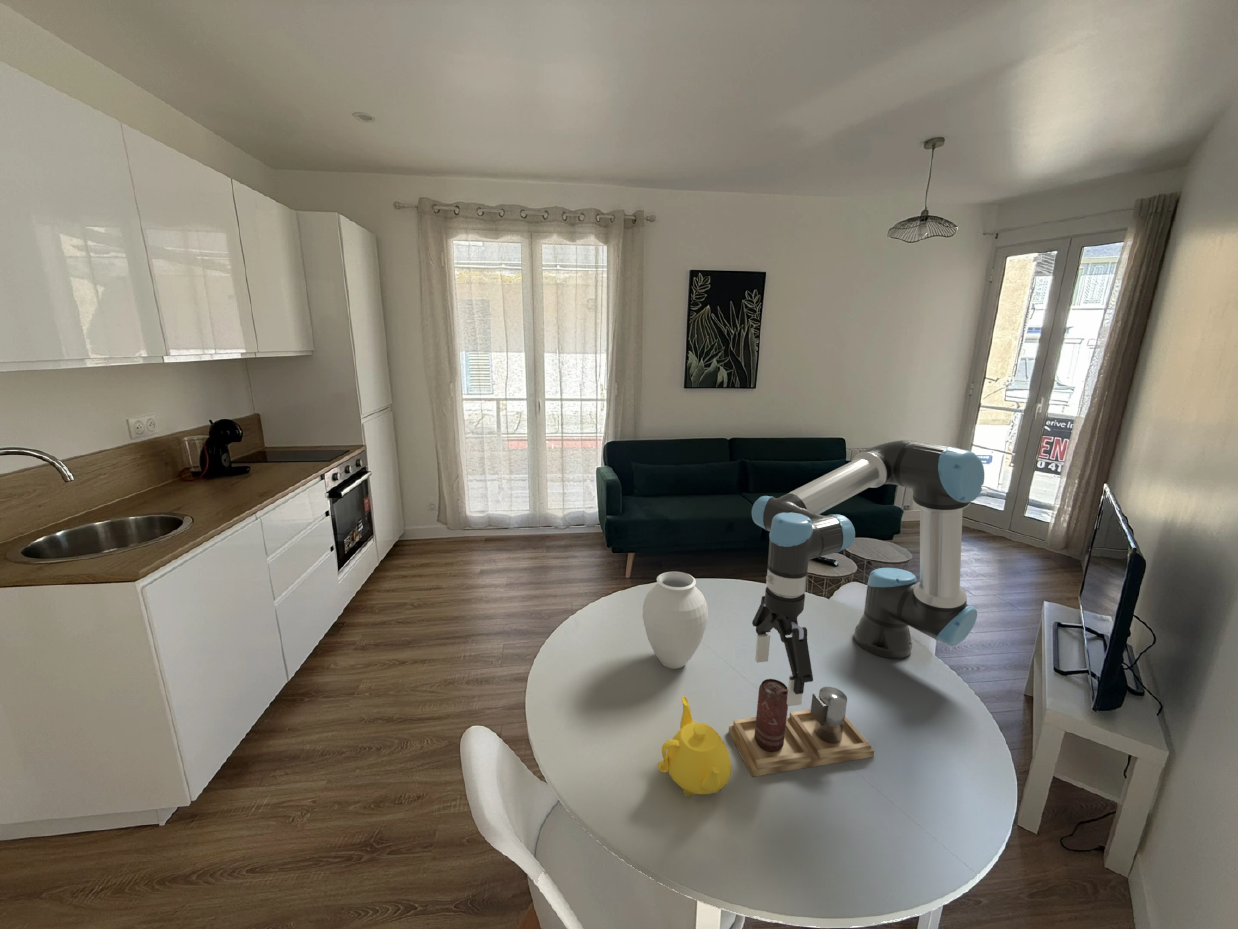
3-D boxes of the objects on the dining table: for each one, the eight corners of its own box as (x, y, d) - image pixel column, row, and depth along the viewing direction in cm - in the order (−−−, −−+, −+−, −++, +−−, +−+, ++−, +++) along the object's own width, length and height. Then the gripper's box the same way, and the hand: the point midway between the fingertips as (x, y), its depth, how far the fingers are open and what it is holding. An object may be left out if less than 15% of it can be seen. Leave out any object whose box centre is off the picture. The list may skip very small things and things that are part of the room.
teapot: (646, 744, 106) (647, 699, 103) (709, 734, 108) (712, 691, 106) (672, 831, 86) (674, 779, 84) (748, 817, 89) (753, 767, 86)
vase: (632, 671, 129) (633, 587, 123) (652, 636, 145) (654, 560, 139) (697, 689, 123) (701, 601, 117) (711, 650, 139) (715, 571, 133)
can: (786, 755, 101) (793, 699, 98) (756, 751, 102) (761, 695, 99) (782, 733, 107) (788, 679, 103) (752, 729, 108) (758, 675, 104)
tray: (838, 715, 114) (840, 705, 113) (873, 756, 103) (875, 745, 102) (728, 731, 109) (729, 720, 108) (752, 776, 98) (753, 764, 97)
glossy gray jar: (831, 722, 110) (836, 685, 108) (847, 742, 105) (852, 703, 102) (806, 726, 109) (810, 688, 106) (820, 746, 103) (825, 706, 101)
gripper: (741, 564, 107) (735, 647, 112) (802, 626, 83) (791, 728, 88) (772, 561, 108) (765, 644, 113) (841, 621, 84) (828, 723, 89)
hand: (776, 681), depth 101 cm, fingers open, 13 cm apart
